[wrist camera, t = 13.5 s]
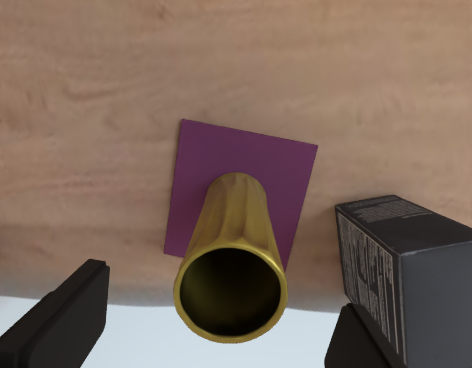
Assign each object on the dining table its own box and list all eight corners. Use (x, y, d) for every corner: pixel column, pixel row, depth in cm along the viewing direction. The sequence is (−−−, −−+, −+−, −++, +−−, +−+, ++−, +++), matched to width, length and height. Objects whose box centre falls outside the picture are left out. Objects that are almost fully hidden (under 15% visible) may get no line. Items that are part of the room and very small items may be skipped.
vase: (205, 230, 26) (165, 351, 12) (204, 171, 25) (158, 231, 11) (265, 231, 26) (294, 354, 12) (267, 172, 24) (303, 233, 11)
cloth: (182, 119, 24) (182, 118, 23) (317, 145, 24) (318, 145, 24) (164, 251, 27) (163, 253, 27) (283, 273, 27) (284, 275, 27)
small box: (404, 285, 27) (501, 380, 17) (343, 294, 28) (403, 393, 18) (398, 192, 25) (508, 238, 15) (332, 204, 25) (395, 256, 15)
